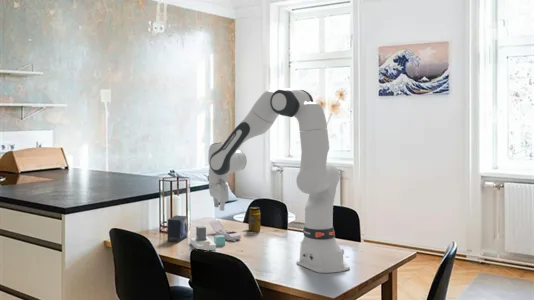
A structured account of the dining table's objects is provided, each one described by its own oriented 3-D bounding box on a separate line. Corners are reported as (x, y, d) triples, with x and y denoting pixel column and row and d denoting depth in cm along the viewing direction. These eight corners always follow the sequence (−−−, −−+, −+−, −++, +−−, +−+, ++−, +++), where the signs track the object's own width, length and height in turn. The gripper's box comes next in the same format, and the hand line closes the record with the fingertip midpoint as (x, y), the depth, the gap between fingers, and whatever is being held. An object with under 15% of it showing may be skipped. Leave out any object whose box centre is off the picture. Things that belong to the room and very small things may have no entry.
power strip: (216, 250, 229) (216, 243, 229) (198, 251, 227) (198, 245, 226) (207, 241, 244) (207, 236, 244) (190, 243, 242) (190, 237, 241)
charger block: (206, 245, 238) (205, 227, 237) (198, 246, 236) (198, 227, 236) (204, 243, 241) (204, 225, 240) (196, 244, 240) (196, 226, 239)
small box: (180, 242, 244) (180, 219, 243) (167, 241, 245) (166, 219, 244) (188, 237, 254) (187, 215, 253) (175, 236, 256) (175, 215, 255)
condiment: (264, 231, 267) (264, 207, 266) (251, 233, 261) (251, 209, 260) (254, 228, 272) (254, 205, 271) (242, 231, 266) (241, 207, 266)
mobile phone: (218, 220, 267) (243, 228, 246) (218, 231, 267) (244, 241, 246) (207, 221, 263) (232, 230, 243) (208, 233, 264) (233, 243, 243)
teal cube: (225, 245, 238) (225, 236, 238) (216, 246, 237) (216, 237, 236) (222, 243, 242) (222, 234, 241) (214, 244, 240) (214, 235, 240)
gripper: (231, 180, 228) (232, 211, 229) (219, 175, 247) (220, 204, 248) (217, 181, 226) (218, 213, 227) (206, 176, 245) (207, 205, 246)
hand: (219, 208), depth 238 cm, fingers open, 8 cm apart
